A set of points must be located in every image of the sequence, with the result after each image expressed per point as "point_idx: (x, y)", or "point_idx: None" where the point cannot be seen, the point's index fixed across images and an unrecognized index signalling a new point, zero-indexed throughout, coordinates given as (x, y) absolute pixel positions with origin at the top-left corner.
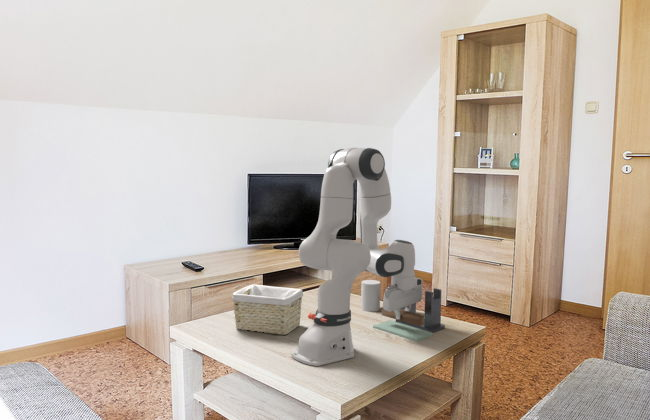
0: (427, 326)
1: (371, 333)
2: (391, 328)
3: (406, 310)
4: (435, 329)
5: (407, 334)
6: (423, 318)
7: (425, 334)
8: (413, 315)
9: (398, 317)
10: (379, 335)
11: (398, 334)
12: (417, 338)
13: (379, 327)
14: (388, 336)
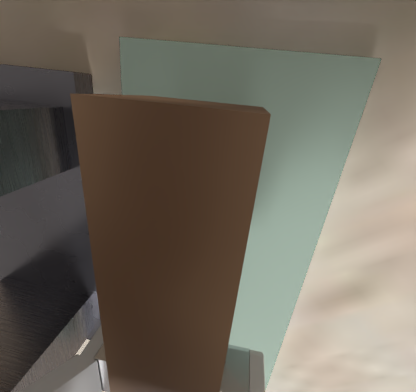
0: (61, 141)
1: (360, 368)
2: (243, 317)
3: (88, 388)
4: (42, 69)
5: (293, 193)
6: (130, 97)
7: (196, 72)
8: (213, 272)
9: (262, 377)
10: (372, 330)
11: (313, 248)
12: (348, 69)
13: (271, 367)
14: (361, 285)
